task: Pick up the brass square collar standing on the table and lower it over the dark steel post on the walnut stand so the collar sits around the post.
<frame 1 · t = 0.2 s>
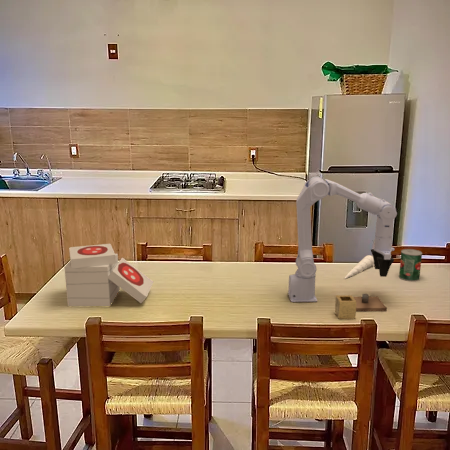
hand: (380, 272, 174), 10 cm above the table, tool pointing down, fingers open, 7 cm apart
brass collar: (344, 315, 163), on the table
pizza boxes: (109, 298, 177), on the table
unicorn horn: (359, 272, 205), on the table
canned tomato: (409, 278, 197), on the table
post stand: (364, 305, 171), on the table
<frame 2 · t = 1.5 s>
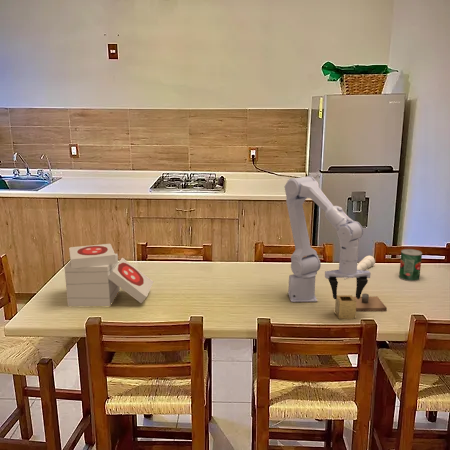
hand: (346, 298, 161), 6 cm above the table, tool pointing down, fingers open, 7 cm apart
nothing on the table moved.
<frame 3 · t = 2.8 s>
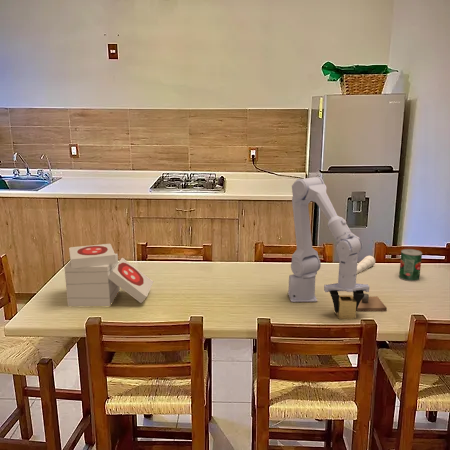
hand: (345, 311, 162), 1 cm above the table, tool pointing down, fingers closed on brass collar, 5 cm apart
brass collar: (344, 315, 163), on the table, touching gripper
everything else where it was.
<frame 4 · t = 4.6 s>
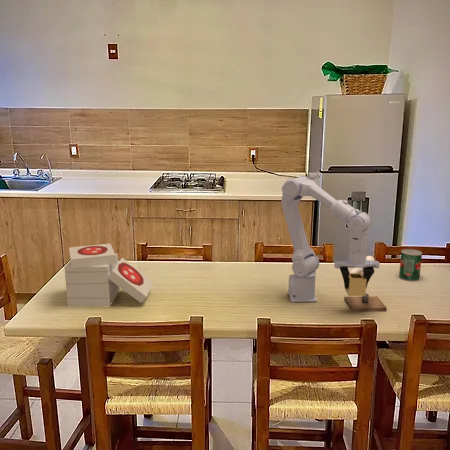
hand: (355, 287, 164), 8 cm above the table, tool pointing down, fingers closed on brass collar, 5 cm apart
brass collar: (354, 292, 164), point 7 cm above the table, touching gripper
everything else where it was.
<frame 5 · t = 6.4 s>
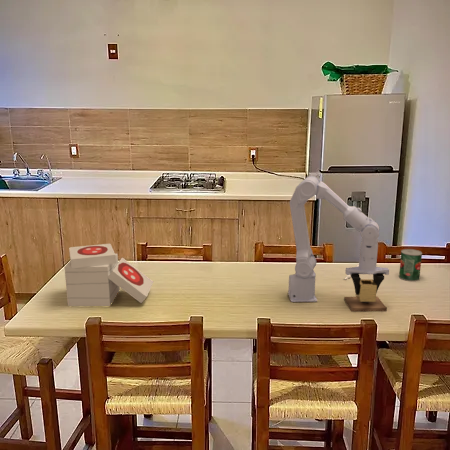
hand: (365, 293, 170), 4 cm above the table, tool pointing down, fingers closed on brass collar, 5 cm apart
brass collar: (365, 298, 170), point 3 cm above the table, touching gripper
everything else where it was.
when the fingers open (4 cm above the table, at t = 6.7 s): brass collar drops 2 cm, resting on post stand.
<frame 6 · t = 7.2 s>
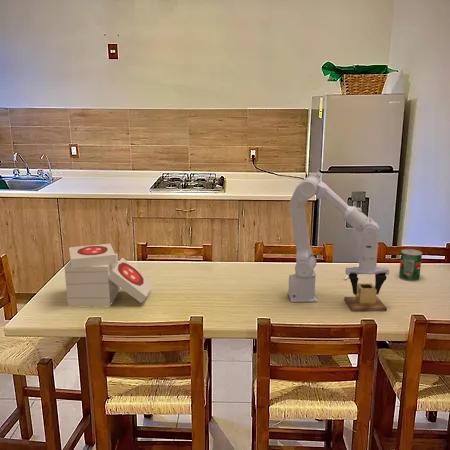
hand: (365, 293, 170), 4 cm above the table, tool pointing down, fingers open, 7 cm apart
brass collar: (365, 302, 170), point 1 cm above the table, touching post stand
everything else where it was.
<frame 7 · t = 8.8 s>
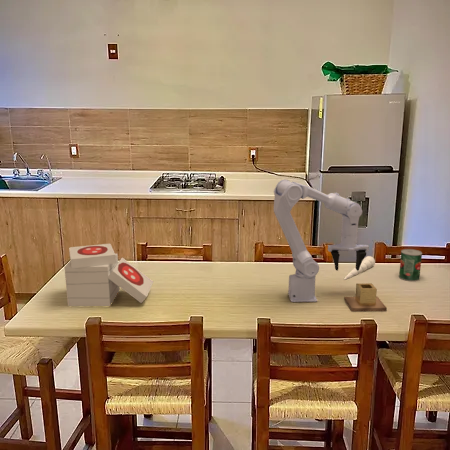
hand: (346, 269, 179), 9 cm above the table, tool pointing down, fingers open, 7 cm apart
nothing on the table moved.
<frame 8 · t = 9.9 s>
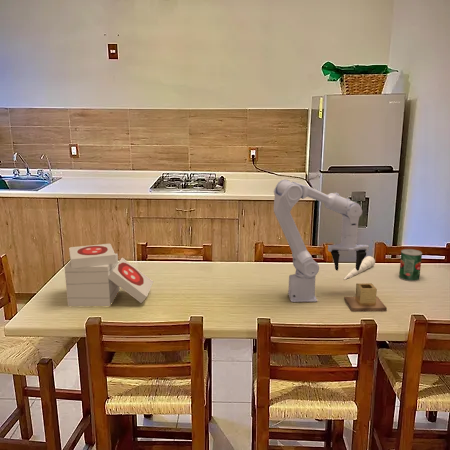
hand: (346, 269, 179), 9 cm above the table, tool pointing down, fingers open, 7 cm apart
at the end: brass collar 0.2 cm off-centre on the post stand, point 1.2 cm above the post stand's base; brass collar tilted 0°; the gripper is holding nothing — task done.
